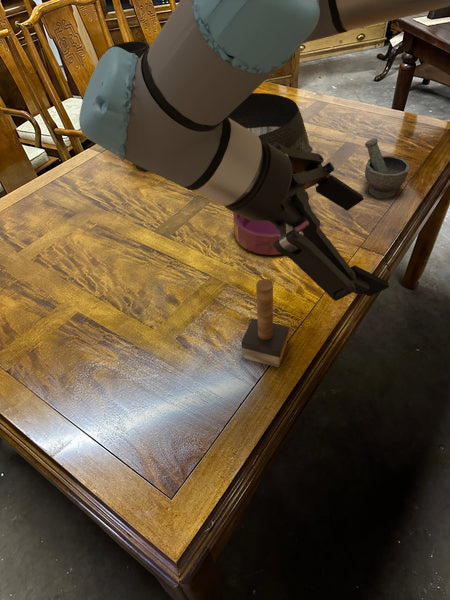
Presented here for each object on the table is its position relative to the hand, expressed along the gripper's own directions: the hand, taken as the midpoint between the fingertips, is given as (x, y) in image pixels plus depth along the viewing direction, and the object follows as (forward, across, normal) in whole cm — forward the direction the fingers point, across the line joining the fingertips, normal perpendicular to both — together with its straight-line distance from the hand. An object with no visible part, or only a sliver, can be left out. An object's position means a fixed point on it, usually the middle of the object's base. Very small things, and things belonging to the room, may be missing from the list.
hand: (366, 243), depth 54 cm
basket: (+17, -54, -37) cm, 68 cm away
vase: (0, -64, -57) cm, 86 cm away
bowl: (+15, -26, -28) cm, 41 cm away
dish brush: (+5, +5, -25) cm, 26 cm away
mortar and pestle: (+38, -39, -12) cm, 56 cm away
